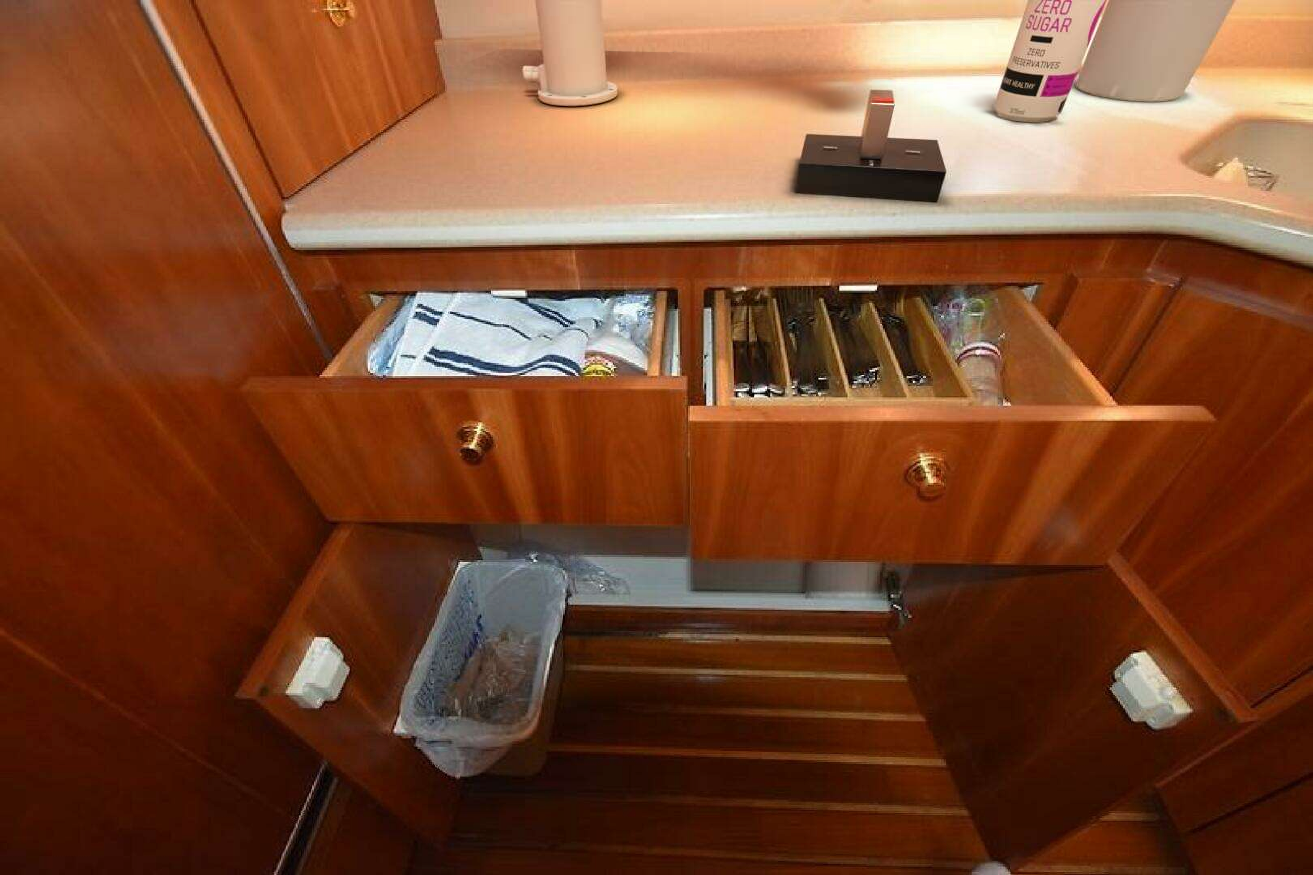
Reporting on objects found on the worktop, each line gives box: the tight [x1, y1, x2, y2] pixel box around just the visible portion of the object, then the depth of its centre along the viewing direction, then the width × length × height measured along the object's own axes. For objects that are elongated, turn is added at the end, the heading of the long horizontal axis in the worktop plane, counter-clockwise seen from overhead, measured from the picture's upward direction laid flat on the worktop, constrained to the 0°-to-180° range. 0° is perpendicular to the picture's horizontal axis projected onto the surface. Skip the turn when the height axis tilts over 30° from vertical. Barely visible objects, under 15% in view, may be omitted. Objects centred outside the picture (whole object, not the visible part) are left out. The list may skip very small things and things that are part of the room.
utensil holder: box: [1075, 0, 1236, 103], centre depth 81 cm, size 15×15×18 cm
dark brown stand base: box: [794, 133, 947, 203], centre depth 62 cm, size 14×10×3 cm
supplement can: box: [993, 0, 1107, 123], centre depth 74 cm, size 8×8×15 cm
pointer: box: [860, 89, 895, 159], centre depth 59 cm, size 6×2×5 cm, turn 166°
